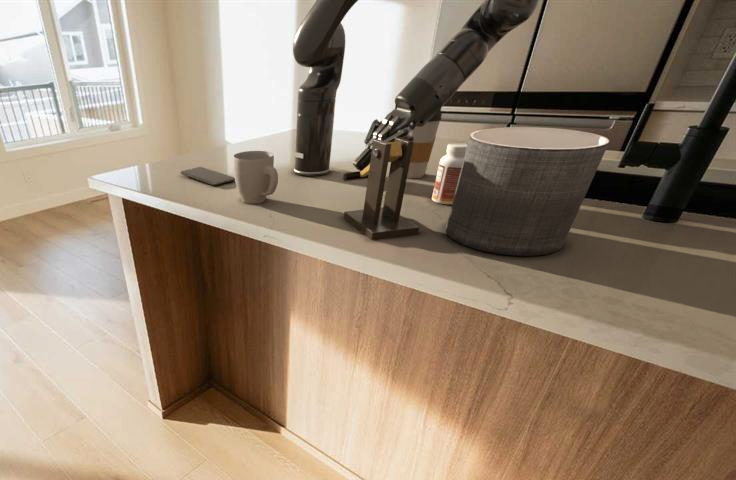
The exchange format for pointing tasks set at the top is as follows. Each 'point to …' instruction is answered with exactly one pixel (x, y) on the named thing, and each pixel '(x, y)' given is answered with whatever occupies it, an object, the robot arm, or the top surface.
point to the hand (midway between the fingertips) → (356, 167)
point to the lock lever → (394, 155)
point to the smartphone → (207, 176)
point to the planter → (522, 188)
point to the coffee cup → (423, 146)
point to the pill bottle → (449, 173)
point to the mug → (255, 175)
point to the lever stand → (388, 217)
